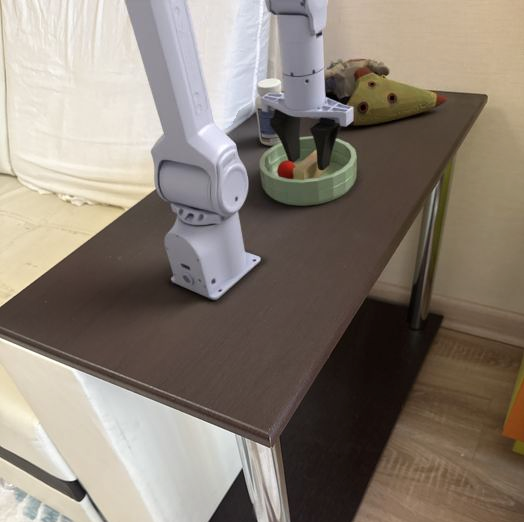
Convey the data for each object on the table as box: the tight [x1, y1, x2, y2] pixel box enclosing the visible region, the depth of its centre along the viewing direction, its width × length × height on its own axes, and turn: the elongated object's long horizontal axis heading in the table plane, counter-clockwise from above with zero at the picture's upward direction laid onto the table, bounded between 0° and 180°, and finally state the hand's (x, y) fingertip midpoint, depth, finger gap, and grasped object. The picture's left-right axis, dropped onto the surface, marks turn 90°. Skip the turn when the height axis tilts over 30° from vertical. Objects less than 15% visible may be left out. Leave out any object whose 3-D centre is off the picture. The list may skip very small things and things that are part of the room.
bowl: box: [259, 135, 358, 207], centre depth 81 cm, size 15×15×4 cm
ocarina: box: [347, 67, 448, 126], centre depth 92 cm, size 20×5×10 cm
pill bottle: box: [254, 78, 284, 147], centre depth 90 cm, size 5×5×10 cm
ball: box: [277, 161, 296, 179], centre depth 81 cm, size 3×3×3 cm
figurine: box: [324, 58, 391, 105], centre depth 101 cm, size 10×14×15 cm
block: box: [293, 150, 328, 180], centre depth 81 cm, size 7×2×3 cm, turn 145°
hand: (308, 163), depth 80 cm, fingers open, 5 cm apart
